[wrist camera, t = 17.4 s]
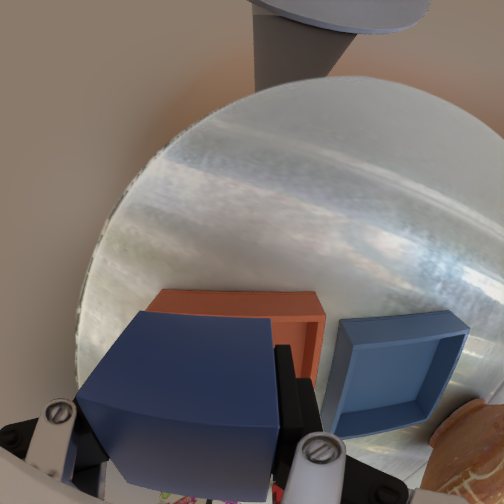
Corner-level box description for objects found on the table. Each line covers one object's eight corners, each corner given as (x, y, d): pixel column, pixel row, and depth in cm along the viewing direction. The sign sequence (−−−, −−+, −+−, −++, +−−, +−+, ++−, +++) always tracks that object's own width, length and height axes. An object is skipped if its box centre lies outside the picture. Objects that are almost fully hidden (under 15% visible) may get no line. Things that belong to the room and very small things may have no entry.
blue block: (139, 309, 9) (74, 395, 5) (270, 317, 9) (279, 426, 5) (158, 400, 11) (127, 483, 6) (264, 409, 11) (265, 502, 6)
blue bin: (340, 319, 25) (353, 345, 21) (449, 309, 25) (470, 328, 21) (320, 415, 29) (326, 442, 25) (415, 399, 29) (428, 420, 25)
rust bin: (162, 288, 25) (144, 310, 21) (315, 291, 25) (326, 315, 20) (179, 397, 29) (171, 424, 24) (300, 401, 28) (305, 429, 24)
